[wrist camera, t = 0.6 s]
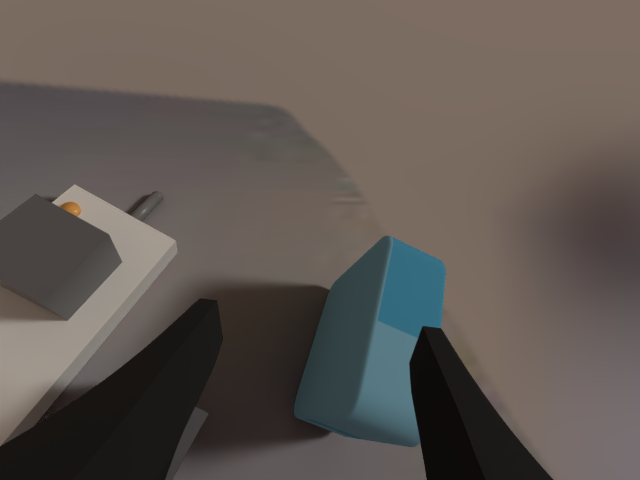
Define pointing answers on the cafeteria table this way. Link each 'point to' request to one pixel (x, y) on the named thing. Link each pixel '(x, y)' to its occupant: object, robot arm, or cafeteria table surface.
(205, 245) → the cafeteria table surface
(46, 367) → the power strip
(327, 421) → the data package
